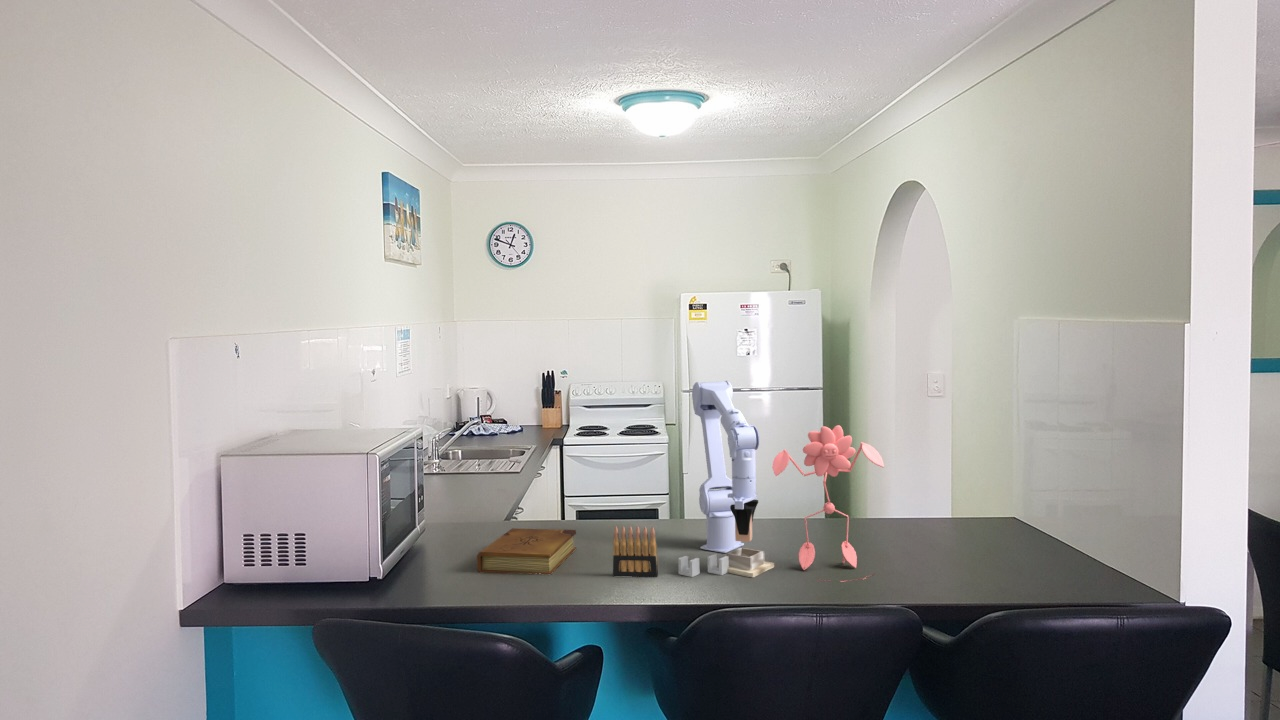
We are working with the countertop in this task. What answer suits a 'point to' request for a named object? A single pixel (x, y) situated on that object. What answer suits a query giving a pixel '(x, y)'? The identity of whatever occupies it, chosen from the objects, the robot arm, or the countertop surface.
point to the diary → (527, 551)
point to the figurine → (831, 458)
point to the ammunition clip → (635, 554)
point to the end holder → (747, 562)
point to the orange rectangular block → (744, 537)
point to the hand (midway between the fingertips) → (745, 532)
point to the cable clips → (694, 569)
